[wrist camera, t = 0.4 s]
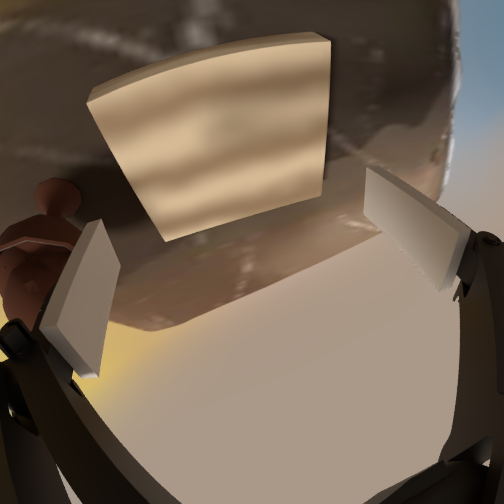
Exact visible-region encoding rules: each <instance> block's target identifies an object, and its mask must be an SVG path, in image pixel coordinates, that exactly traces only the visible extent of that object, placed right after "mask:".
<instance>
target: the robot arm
mask: <svg viewBox="0 0 504 504" xmlns="http://www.w3.org/2000/svg"><path fill="white" fill-rule="evenodd" d="M363 214H364V215H365V216H366V217H367V218H368V219H369V220H370V221H371V222H372V223H373V224H374V225H376V226H377V227H378V228H379V229H380V230H381V231H382V232H383V233H384V234H385V235H386V236H387V237H388V238H389V239H390V240H391V241H392V242H393V243H394V244H395V245H396V246H397V247H398V248H399V249H400V250H401V251H402V252H403V253H404V254H405V255H406V256H407V257H408V258H409V259H410V260H411V261H412V262H413V263H414V264H415V265H416V267H417V268H418V269H419V270H420V271H421V272H422V273H423V274H424V275H425V276H426V277H427V278H428V279H429V281H430V282H431V283H432V284H433V285H434V286H435V287H436V288H437V289H438V291H439V292H440V291H443V290H445V289H447V288H450V287H452V285H453V282H454V279H455V277H456V275H457V276H458V277H459V278H460V279H461V281H460V283H459V285H458V288H457V290H456V293H455V295H454V297H453V301H455V300H456V298H457V296H459V300H458V302H459V307H460V357H459V358H460V359H459V375H458V386H457V397H456V405H455V411H454V418H453V425H452V430H451V434H450V436H449V438H448V440H447V442H446V443H445V445H444V446H443V449H442V451H441V453H440V457H439V460H438V462H437V463H435V464H434V465H432V466H430V467H428V468H426V469H425V470H423V471H421V472H419V473H417V474H415V475H413V476H411V477H409V478H407V479H405V480H403V481H401V482H399V483H397V484H395V485H393V486H391V487H389V488H387V489H385V490H383V491H381V492H379V493H377V494H376V495H375V496H373V497H372V498H371V499H369V500H368V501H366V502H365V503H364V504H504V242H502V241H501V240H500V239H499V238H498V237H497V236H495V235H494V234H492V233H489V232H486V231H480V232H478V233H476V232H474V231H473V230H472V229H471V228H470V227H468V226H467V225H466V224H464V223H463V222H462V221H461V220H459V219H457V218H456V217H455V216H454V215H453V214H450V212H448V211H447V210H446V209H445V208H443V207H441V206H439V205H438V204H437V203H435V202H434V201H432V200H431V199H430V198H428V197H427V196H425V195H424V194H422V193H421V192H419V191H418V190H416V189H415V188H413V187H412V186H410V185H409V184H407V183H406V182H404V181H403V180H401V179H399V178H398V177H396V176H395V175H393V174H391V173H390V172H388V171H387V170H385V169H383V168H382V167H380V166H370V167H366V185H365V200H364V213H363ZM120 266H121V265H120V263H119V261H118V258H117V256H116V254H115V252H114V249H113V247H112V244H111V242H110V240H109V237H108V235H107V232H106V230H105V227H104V225H103V222H102V219H99V220H95V221H92V222H89V223H87V225H86V227H85V228H84V230H83V232H82V234H81V236H80V238H79V240H78V241H77V243H76V245H75V247H74V249H73V251H72V253H71V255H70V257H69V259H68V261H67V263H66V265H65V267H64V269H63V271H62V274H61V276H60V278H59V280H58V282H57V284H54V285H53V286H52V288H51V289H50V290H49V291H48V293H47V294H46V297H45V299H44V301H43V304H42V306H41V308H40V312H39V313H38V316H37V318H36V321H35V323H34V326H33V328H32V331H30V330H29V329H28V327H27V326H26V325H25V324H24V322H23V321H22V320H21V319H19V318H15V319H12V320H10V321H9V322H7V323H6V324H5V325H4V326H3V327H2V328H1V330H0V349H1V350H2V351H3V353H4V354H5V355H6V356H7V357H8V358H9V359H7V360H5V361H3V362H0V504H71V502H70V499H69V497H68V494H67V492H66V490H65V487H64V485H63V482H62V479H61V477H60V474H59V471H58V469H57V466H58V467H59V469H60V471H61V472H62V474H63V476H64V477H65V479H66V480H67V482H68V483H69V485H70V486H71V488H72V489H73V491H74V492H75V494H76V495H77V497H78V498H79V499H80V501H81V502H82V504H181V503H180V502H179V501H178V500H177V499H176V498H175V497H173V496H172V495H171V494H170V493H169V492H168V491H167V490H166V489H164V487H162V486H161V485H160V484H159V483H158V482H157V481H156V480H155V479H154V478H153V477H152V476H151V475H150V474H149V473H148V472H147V471H146V470H145V469H144V468H143V467H142V466H141V465H140V464H139V463H138V461H137V460H136V459H135V458H134V457H133V456H132V455H131V454H130V453H129V452H128V451H127V449H126V448H125V447H124V446H123V445H122V444H121V443H120V441H119V440H118V439H117V438H116V437H115V435H114V434H113V433H112V432H111V430H110V429H109V428H108V427H107V425H106V424H105V423H104V421H103V420H102V419H101V418H100V416H99V415H98V414H97V412H96V411H95V410H94V408H93V407H92V405H91V404H90V402H89V401H88V400H87V398H86V397H85V395H84V394H83V392H82V391H81V389H80V388H79V386H78V385H77V383H76V382H75V381H74V380H73V379H72V374H73V370H74V371H75V372H76V373H77V374H78V375H79V376H80V377H81V378H82V379H84V378H97V377H99V372H100V365H101V358H102V352H103V346H104V340H105V334H106V329H107V323H108V318H109V313H110V309H111V304H112V299H113V295H114V291H115V286H116V282H117V278H118V274H119V270H120ZM9 409H10V410H11V411H12V416H11V415H10V413H9ZM489 459H490V464H489V467H487V466H485V465H482V464H483V463H484V462H485V461H487V460H489ZM55 462H56V463H55ZM56 464H57V466H56Z"/></svg>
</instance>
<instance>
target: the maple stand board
mask: <svg viewBox="0 0 504 504" xmlns="http://www.w3.org/2000/svg"><path fill="white" fill-rule="evenodd" d="M330 62H331V41H329V40H328V39H326V38H324V37H322V36H320V35H318V34H317V33H315V32H301V33H290V34H280V35H272V36H264V37H257V38H251V39H245V40H240V41H234V42H229V43H224V44H220V45H215V46H211V47H207V48H203V49H199V50H195V51H191V52H188V53H184V54H181V55H177V56H174V57H171V58H168V59H164V60H161V61H158V62H155V63H153V64H150V65H147V66H144V67H141V68H139V69H136V70H133V71H131V72H128V73H126V74H123V75H121V76H119V77H116V78H114V79H111V80H109V81H107V82H105V83H102V84H100V85H98V86H96V87H94V88H93V90H92V92H91V94H90V96H89V99H88V101H87V103H86V104H87V106H88V108H89V110H90V112H91V114H92V116H93V118H94V120H95V121H96V123H97V125H98V127H99V129H100V131H101V133H102V135H103V137H104V138H105V140H106V142H107V144H108V146H109V148H110V150H111V151H112V153H113V155H114V157H115V159H116V160H117V162H118V164H119V166H120V167H121V169H122V171H123V173H124V174H125V176H126V178H127V180H128V181H129V183H130V185H131V186H132V188H133V190H134V192H135V193H136V195H137V197H138V198H139V200H140V202H141V203H142V205H143V207H144V208H145V210H146V211H147V213H148V215H149V216H150V218H151V220H152V221H153V223H154V224H155V226H156V228H157V229H158V231H159V232H160V234H161V236H162V237H163V239H164V240H165V242H167V241H170V240H173V239H176V238H179V237H182V236H185V235H189V234H192V233H195V232H198V231H201V230H204V229H208V228H211V227H214V226H217V225H221V224H224V223H227V222H230V221H234V220H237V219H240V218H244V217H247V216H251V215H254V214H257V213H261V212H264V211H268V210H271V209H275V208H278V207H282V206H285V205H289V204H292V203H296V202H299V201H303V200H307V199H310V198H314V197H317V196H321V190H322V180H323V170H324V160H325V148H326V136H327V122H328V107H329V88H330Z"/></svg>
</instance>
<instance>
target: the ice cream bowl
mask: <svg viewBox="0 0 504 504" xmlns="http://www.w3.org/2000/svg"><path fill="white" fill-rule="evenodd" d="M34 197H35V202H36V205H37V208H38V210H39V211H41V212H42V213H43V214H45V215H42V214H39V215H35V216H32V217H30V218H28V219H25V220H23V221H20V222H18V223H15V224H13V225H11V226H9V227H8V228H7V229H6V230H5V231H4V232H3V233H2V234H1V236H0V294H1V297H2V298H3V308H4V311H5V314H6V316H7V318H8V320H9V321H10V320H12V319H15V318H19V319H21V320H22V321H23V322H24V324H25V325H26V326H27V327H28V329H29V330H30V331H32V328H33V326H34V323H35V321H36V318H37V316H38V313H39V312H40V308H41V306H42V304H43V301H44V299H45V297H46V294H47V293H48V291H49V290H50V289H51V288H52V286H53V285H54V284H57V282H58V280H59V278H60V276H61V274H62V271H63V269H64V267H65V265H66V263H67V261H68V259H69V257H70V255H71V253H72V251H73V249H74V247H75V245H76V243H77V241H78V240H79V238H80V236H81V234H82V231H80V230H79V229H78V228H76V227H75V226H74V225H72V224H71V223H70V222H68V221H67V220H66V219H64V218H66V217H69V216H72V215H74V213H75V212H76V210H77V209H78V208H79V206H80V204H81V203H82V202H81V196H80V190H79V189H77V188H76V187H75V186H74V185H73V184H72V183H71V182H70V181H68V180H62V179H57V178H52V179H49V180H47V181H44V182H42V183H40V184H39V186H38V188H37V190H36V192H35V194H34Z"/></svg>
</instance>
